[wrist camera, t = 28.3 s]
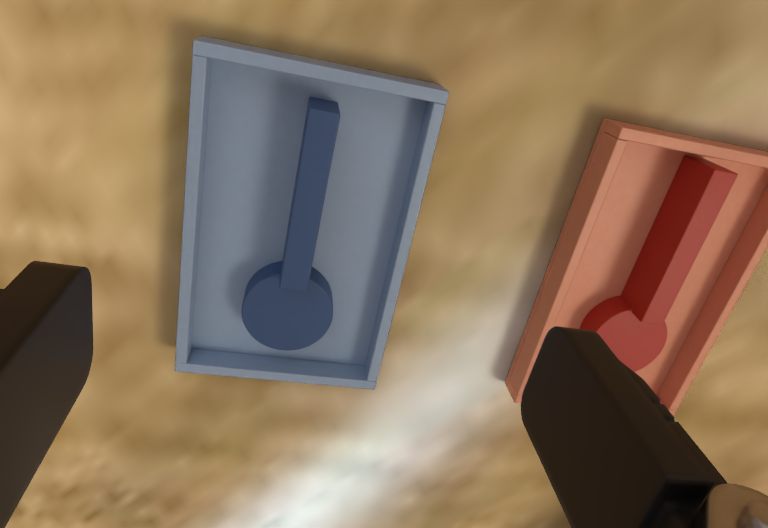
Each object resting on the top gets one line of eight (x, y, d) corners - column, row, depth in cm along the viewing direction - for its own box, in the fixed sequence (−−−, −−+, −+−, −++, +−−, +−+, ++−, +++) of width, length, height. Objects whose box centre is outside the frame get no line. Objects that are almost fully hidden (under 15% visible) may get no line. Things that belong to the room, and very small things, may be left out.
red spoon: (634, 363, 36) (656, 389, 33) (566, 355, 35) (584, 382, 33) (733, 164, 30) (767, 179, 28) (655, 148, 29) (684, 163, 27)
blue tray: (201, 35, 25) (193, 39, 23) (440, 84, 27) (449, 91, 25) (182, 350, 32) (174, 371, 30) (371, 368, 34) (374, 390, 32)
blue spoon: (324, 339, 32) (325, 367, 30) (239, 329, 31) (234, 356, 29) (373, 109, 27) (379, 121, 24) (272, 88, 26) (268, 98, 23)
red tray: (603, 117, 29) (622, 126, 27) (784, 155, 31) (813, 165, 29) (504, 382, 36) (514, 403, 34) (656, 397, 38) (673, 417, 36)
